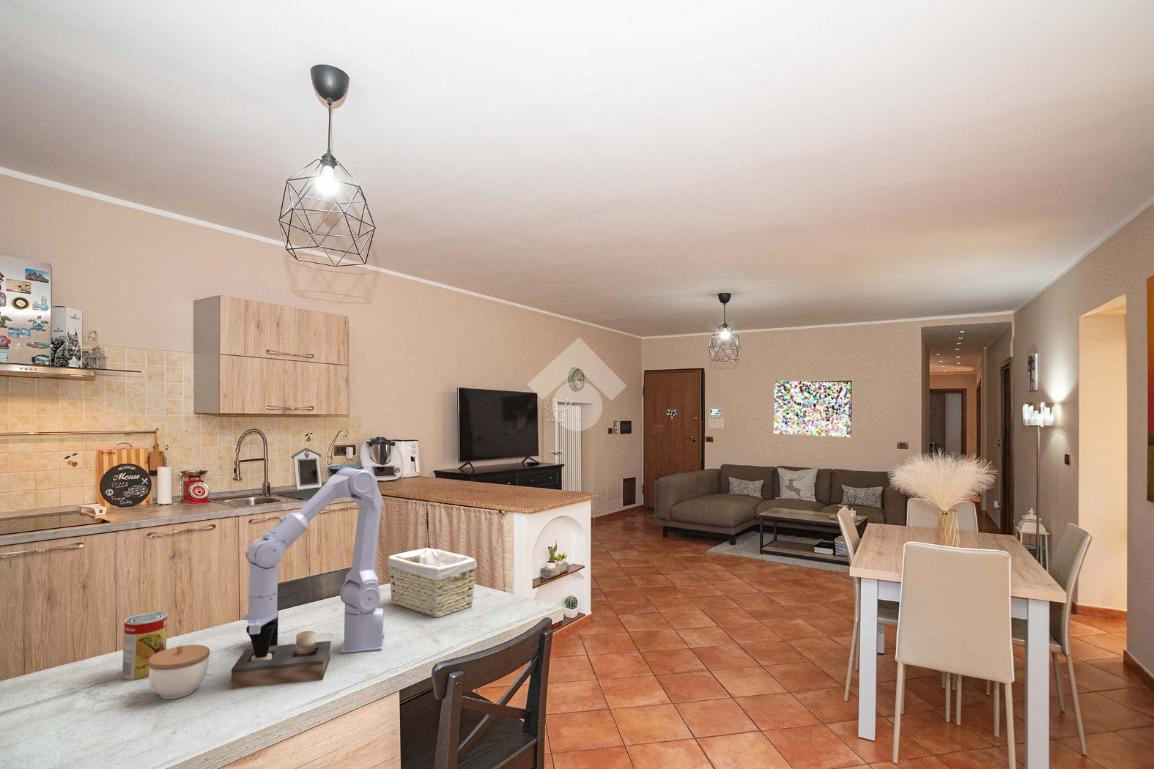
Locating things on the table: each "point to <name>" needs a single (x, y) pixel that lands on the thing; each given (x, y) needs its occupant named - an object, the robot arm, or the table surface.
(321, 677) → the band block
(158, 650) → the canned food
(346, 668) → the table surface
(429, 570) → the storage basket
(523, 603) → the table surface
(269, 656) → the outer peg
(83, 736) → the table surface
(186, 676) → the lidded jar
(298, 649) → the inner peg
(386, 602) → the table surface
